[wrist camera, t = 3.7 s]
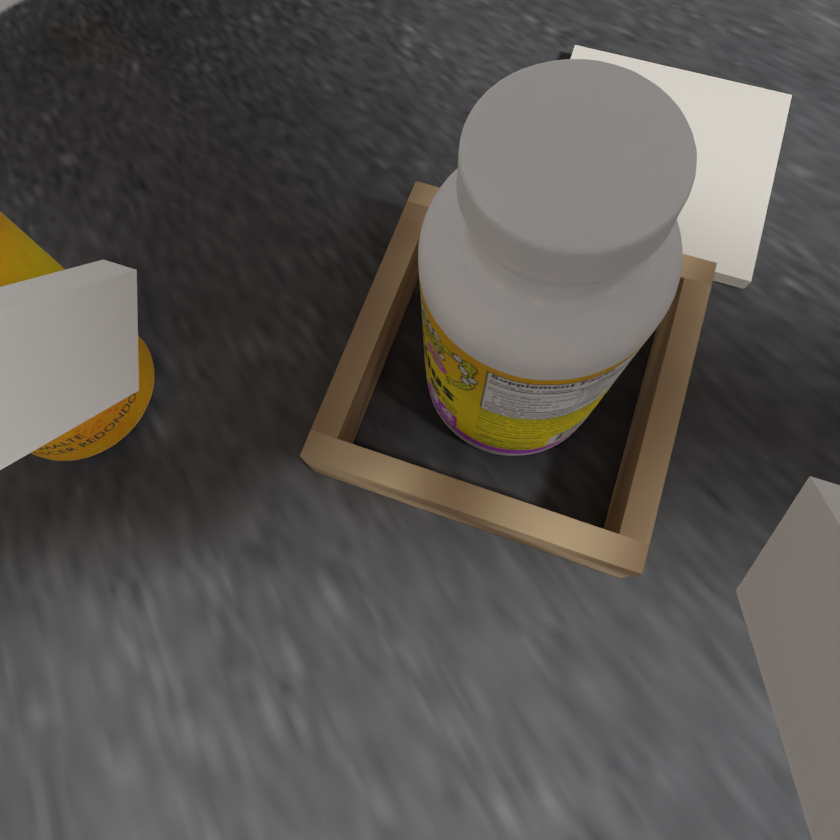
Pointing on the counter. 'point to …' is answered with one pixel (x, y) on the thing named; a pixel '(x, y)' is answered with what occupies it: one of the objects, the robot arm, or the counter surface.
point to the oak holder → (498, 514)
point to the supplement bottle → (551, 250)
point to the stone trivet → (721, 161)
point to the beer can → (22, 260)
